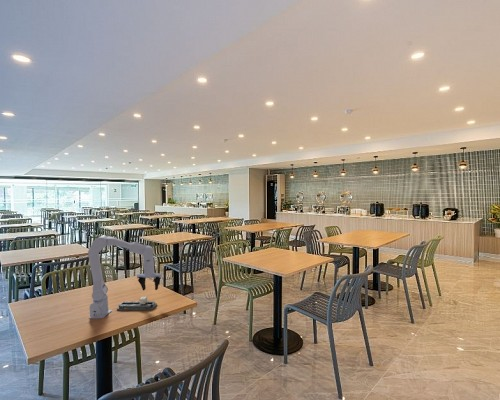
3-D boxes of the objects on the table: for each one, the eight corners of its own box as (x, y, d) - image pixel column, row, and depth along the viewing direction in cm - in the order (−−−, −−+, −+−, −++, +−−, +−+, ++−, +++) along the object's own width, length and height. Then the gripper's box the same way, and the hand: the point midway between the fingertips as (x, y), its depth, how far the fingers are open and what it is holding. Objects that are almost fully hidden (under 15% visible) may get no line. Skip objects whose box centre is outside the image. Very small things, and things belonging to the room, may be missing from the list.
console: (151, 310, 160) (151, 306, 160) (116, 310, 162) (116, 306, 162) (157, 305, 168) (157, 300, 168) (123, 305, 170) (123, 300, 170)
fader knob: (144, 306, 162) (144, 298, 162) (139, 306, 163) (139, 298, 162) (147, 304, 166) (147, 296, 166) (142, 304, 166) (142, 296, 166)
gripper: (163, 264, 168) (164, 287, 169) (140, 265, 170) (141, 287, 170) (158, 268, 161) (160, 291, 162) (134, 268, 163) (136, 291, 163)
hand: (150, 289), depth 165 cm, fingers open, 7 cm apart
